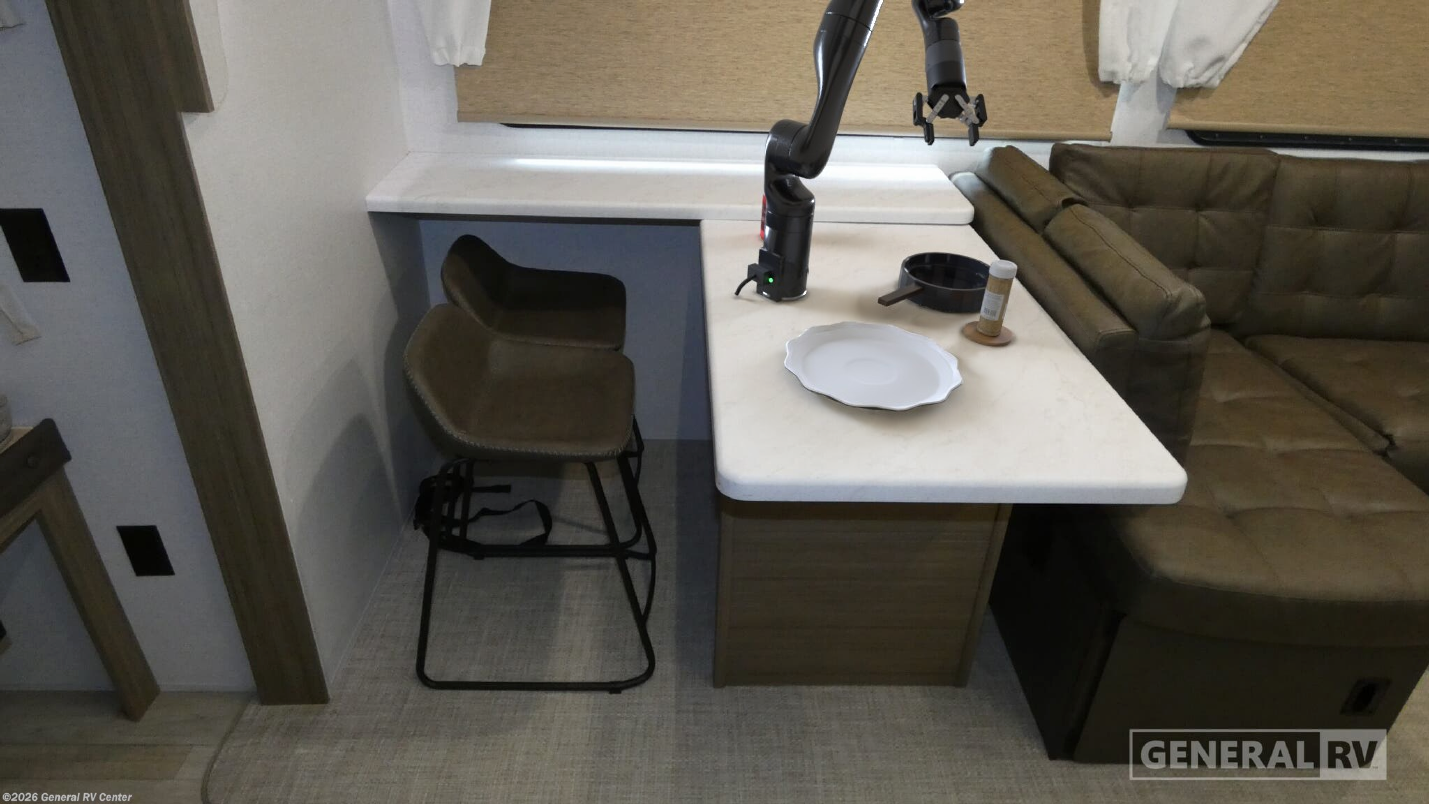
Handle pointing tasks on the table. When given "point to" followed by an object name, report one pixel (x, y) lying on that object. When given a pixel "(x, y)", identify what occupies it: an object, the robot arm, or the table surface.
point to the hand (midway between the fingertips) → (952, 144)
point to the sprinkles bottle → (996, 297)
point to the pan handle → (900, 295)
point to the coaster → (976, 336)
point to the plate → (872, 366)
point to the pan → (946, 281)
